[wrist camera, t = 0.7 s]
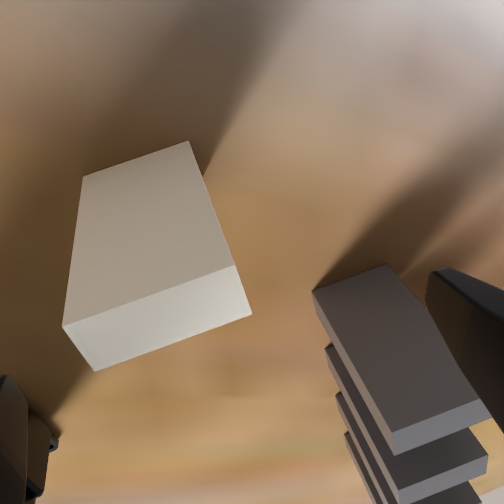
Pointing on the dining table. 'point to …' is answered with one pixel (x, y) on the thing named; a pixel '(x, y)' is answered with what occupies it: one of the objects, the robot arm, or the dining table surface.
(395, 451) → the domino
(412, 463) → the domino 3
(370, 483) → the domino
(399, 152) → the dining table surface
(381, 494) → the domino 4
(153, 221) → the domino head
